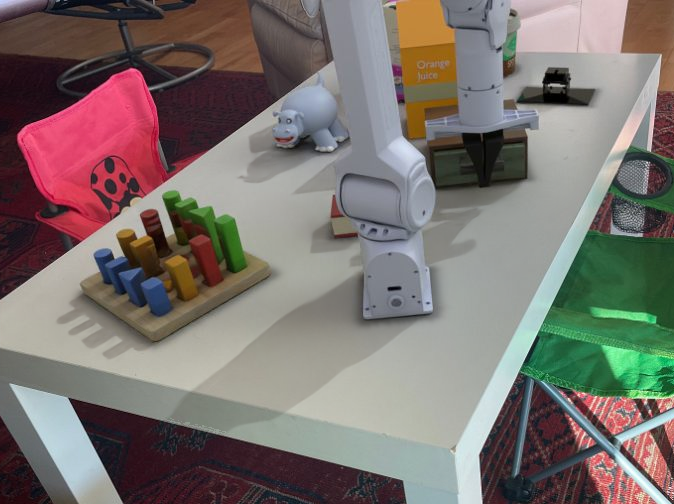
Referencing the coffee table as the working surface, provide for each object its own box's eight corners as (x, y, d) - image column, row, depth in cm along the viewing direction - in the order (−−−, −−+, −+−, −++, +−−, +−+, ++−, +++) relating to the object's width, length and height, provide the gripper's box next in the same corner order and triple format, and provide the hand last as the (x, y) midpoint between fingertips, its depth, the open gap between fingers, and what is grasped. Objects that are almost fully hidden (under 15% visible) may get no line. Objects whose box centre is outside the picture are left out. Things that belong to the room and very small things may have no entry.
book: (367, 235, 100) (363, 212, 98) (334, 238, 100) (330, 215, 98) (367, 213, 105) (364, 191, 103) (336, 216, 105) (332, 194, 103)
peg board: (81, 293, 95) (54, 234, 90) (195, 235, 104) (177, 178, 99) (155, 343, 86) (129, 280, 80) (273, 274, 95) (258, 213, 89)
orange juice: (407, 121, 129) (394, -5, 116) (458, 115, 129) (451, -11, 116) (408, 139, 123) (395, 8, 110) (462, 134, 123) (454, 2, 110)
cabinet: (527, 178, 108) (527, 136, 104) (432, 188, 109) (428, 146, 105) (514, 138, 119) (513, 98, 115) (427, 147, 120) (424, 108, 116)
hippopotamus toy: (258, 161, 122) (244, 103, 116) (304, 124, 132) (293, 69, 126) (315, 167, 118) (304, 108, 112) (358, 129, 128) (349, 72, 122)
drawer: (528, 189, 104) (529, 157, 101) (438, 199, 104) (435, 167, 101) (512, 139, 117) (511, 109, 114) (431, 147, 118) (429, 118, 115)
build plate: (516, 103, 131) (516, 76, 128) (526, 88, 136) (526, 62, 133) (588, 105, 127) (589, 78, 124) (595, 90, 132) (596, 63, 129)
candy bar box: (457, 93, 137) (451, -4, 126) (450, 103, 133) (444, 4, 123) (399, 92, 140) (389, -3, 129) (391, 102, 136) (380, 5, 126)
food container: (517, 81, 139) (517, 24, 132) (484, 82, 140) (482, 25, 133) (524, 59, 148) (524, 4, 141) (493, 60, 149) (491, 5, 142)
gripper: (533, 67, 96) (532, 166, 105) (420, 78, 96) (429, 176, 105) (542, 85, 91) (540, 189, 99) (423, 97, 91) (431, 199, 100)
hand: (483, 184), depth 102 cm, fingers closed, pressing on drawer
